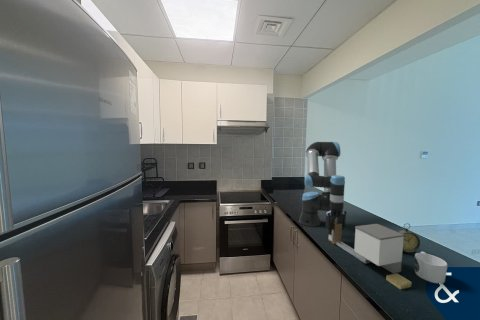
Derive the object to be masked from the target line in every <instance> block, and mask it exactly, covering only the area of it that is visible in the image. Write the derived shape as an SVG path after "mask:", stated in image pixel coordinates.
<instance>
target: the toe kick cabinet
mask: <svg viewBox="0 0 480 320" xmlns="http://www.w3.org/2000/svg"><path fill="white" fill-rule="evenodd" d="M354 228H355V233H354V248H353V249H354V251H355V252H357V253H358V254H360V255H362V256H363V257H365V258H366V259H368V260H370V263H373V264H375V265H376V266H378V267H382V268H383V269H385V270H386V271H388V272H390V273H391V274H395V273H397V274H398V273H401V272H402V263H403V252H404V251H403V238H404V234H401V233H399V231H396V230H394V229H391V228H389V227H386V226H384V225H381V224H379V223H371V224H364V225H355V227H354Z"/></svg>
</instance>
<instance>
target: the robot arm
mask: <svg viewBox="0 0 480 320" xmlns="http://www.w3.org/2000/svg"><path fill="white" fill-rule="evenodd" d="M305 156H306V159H307V162H306V163H307V164H306V165H307V174H305V175H304V186H305V187H308V188H309V187H310V188H323V190H322V192H321V194H320V193H319V192H317V191H306V192H304V193H303V194H302V198H301V213H300V215H299V219H298V223H299V224H300V225H303V226H304V227H305V226H306V227H310V228H311V227H312V228H314V227H319V226H321V219H320V215H319V212H320V211H321V212H324V213H325V228H326V229H328V232H327V233H328V235H329V239H330V240H331V241H333V230H332V229H333V225H334V221H337V222H339V223H342V230H344V228H346V219H347V213H348V212H347V211H346V210H344V208H345V207H344V200H345V187H346V186H345V184H346V177H345V176H343V175H338V174H337V160H338V159H339V158H340V156H341V146H340V143H339V142H336V141H315V142H313V143H311V144H310V145H309V146H308V147H307V149H306V151H305ZM319 157H321V159H322V160H323V175H320V170H319V169H320V168H319V165H320V164H319Z"/></svg>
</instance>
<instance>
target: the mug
mask: <svg viewBox="0 0 480 320" xmlns="http://www.w3.org/2000/svg"><path fill="white" fill-rule="evenodd" d="M447 270H448V263H447V262H446V261H445V260H444V259H443V258H441V257H438V256H436V255H432V254H429V253H426V252H425V251H420V252H416V253H414V272H415V273H414V274H416V276H418V277H419V278H421V279H423V280H425V281H426V282H430V283H432V284H433V283H434V284H438V283H442V284H445V282H446V276H447V272H448V271H447Z"/></svg>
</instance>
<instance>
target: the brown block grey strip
mask: <svg viewBox="0 0 480 320" xmlns="http://www.w3.org/2000/svg"><path fill="white" fill-rule="evenodd" d="M332 230H333V241H331V240H330V239H329V234H328V237H327V239H328V242H330V243H331V244H333V245H337V246H338V247H339V248H341V249H343V250H344V251H345V252H347V253H349V254H350V255H352V256H353V257H355V258H356V259H358V260H359V261H361V262H362V263H363V264H370V263H371V261H370V260H368V259H366V258H365V257H363V256H362V255H360V254H358V253H357V252H355V251H354V248H353V247H351V246H350V245H348V244H346V243H344V241H342V233H343V229H342V223H339V222H337V220H335V221H334V225H333V229H332Z"/></svg>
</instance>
